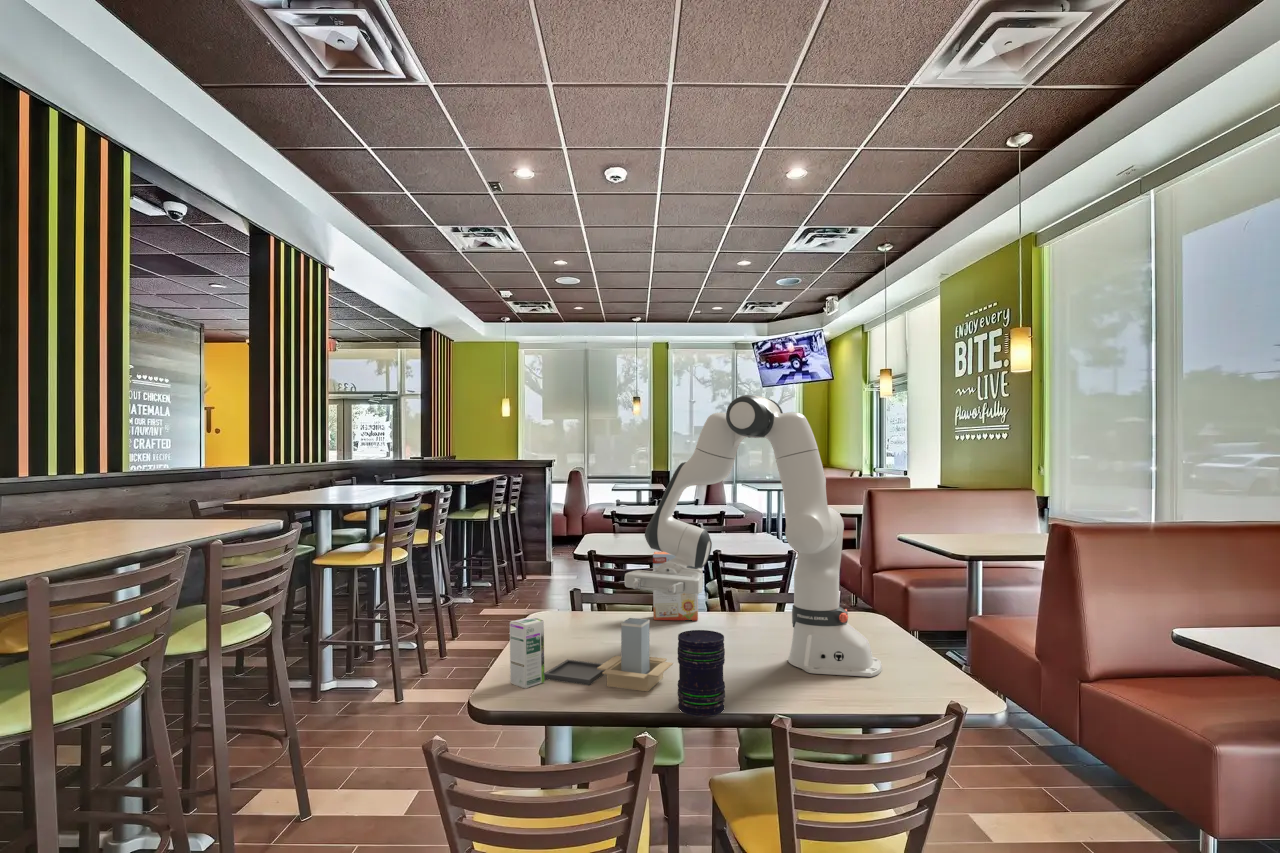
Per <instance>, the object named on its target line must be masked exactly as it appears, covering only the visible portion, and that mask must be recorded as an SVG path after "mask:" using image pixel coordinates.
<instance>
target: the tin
mask: <svg viewBox="0 0 1280 853" xmlns="http://www.w3.org/2000/svg"><path fill="white" fill-rule="evenodd" d="M650 621H651V620H650V619H646V618H645V619H644V618H636V617H629V618H627V619H625V620H623V621H622V622H620V626H621V630H620V632H621V634H620V636H621V640H620V642H621V643H620V644H621V646H620V647H621V648H620V649H621V650H620V651H621V652H620V653H621V654H620V657H621V671H625V672H633V673H641V674H648V673H649V672H650V665H649V657H650Z"/></svg>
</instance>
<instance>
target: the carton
mask: <svg viewBox="0 0 1280 853" xmlns="http://www.w3.org/2000/svg"><path fill="white" fill-rule="evenodd" d="M667 660H668V658H664V657H655V656H649V665H650V672H649V673H648V674H641V673H633V672H625V671H621V655H620V656H619V655H614V656H613V657H611V658H610V659H608V660H606V661H604V663H601V664H602V665H601V666H599V667H598V668H597V669H599V670H605V671H604V672H602V674H604V675H606V686H607V687H612V688H618V689H619V688H620V689H626V690H635V691H642V692H649V691H651V689H652V688H654V686H656V685H657V684H659V682H660V681H661V680H663V679H664V672H666V671H667V670H669V668H671V666H673V665H674V662H670V661H667Z"/></svg>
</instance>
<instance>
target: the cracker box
mask: <svg viewBox="0 0 1280 853" xmlns="http://www.w3.org/2000/svg"><path fill="white" fill-rule="evenodd" d="M675 557H676V556H674V555H671V554H669V553H666V552H662V551H654V552H653V554H652V571H656V569H657V568H658V566H659V565H661V564H662V563H665V562H667V561H669V560H672V559H673V558H675ZM652 593H653V594H652V595H653V596H652V600H653V602H652V604H653V605H652V606H653V621H685V620H692V621H696V622H697V621H699V594H688V593H684V594H676V595H666V594H663V593H662V592H661V591H658V590H652Z"/></svg>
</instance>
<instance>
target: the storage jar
mask: <svg viewBox="0 0 1280 853" xmlns="http://www.w3.org/2000/svg"><path fill="white" fill-rule="evenodd" d="M677 640H678V642H677V663H678V664H679V665H678V667H679V668H678V674H679V675H678V676H679V677H678V681H677V697H678V698H677V700H678V704H677V706H678V707H677V708H679V709H680V710H681V711H682V712H683V714H685V715H687V716H690V717H691V716H692V717H698V718H699V717H700V718H701V717H702V718H703V717H705V718H706V717H707V718H708V717H714V716H719V715H720V713H721V712H722V711H723V710H724V711H725V709H724V708H725V698H726V691H725V690H726V689H725V688H726V686H725V685H726V684H725V681H724V665H725V661H726V659H725V658H726V657H725V651H726V650H725V642H724V641H725V635H724V634H723V633H721V632H718V631H714V630H707V629H706V630H704V629H691V630H686V631H682V632H680V633H678V635H677ZM679 709H678V710H679ZM680 710H679V711H680ZM681 711H680V712H681ZM724 711H723V712H724ZM682 712H681V713H682ZM723 712H722V713H723ZM722 713H721V714H722Z"/></svg>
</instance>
